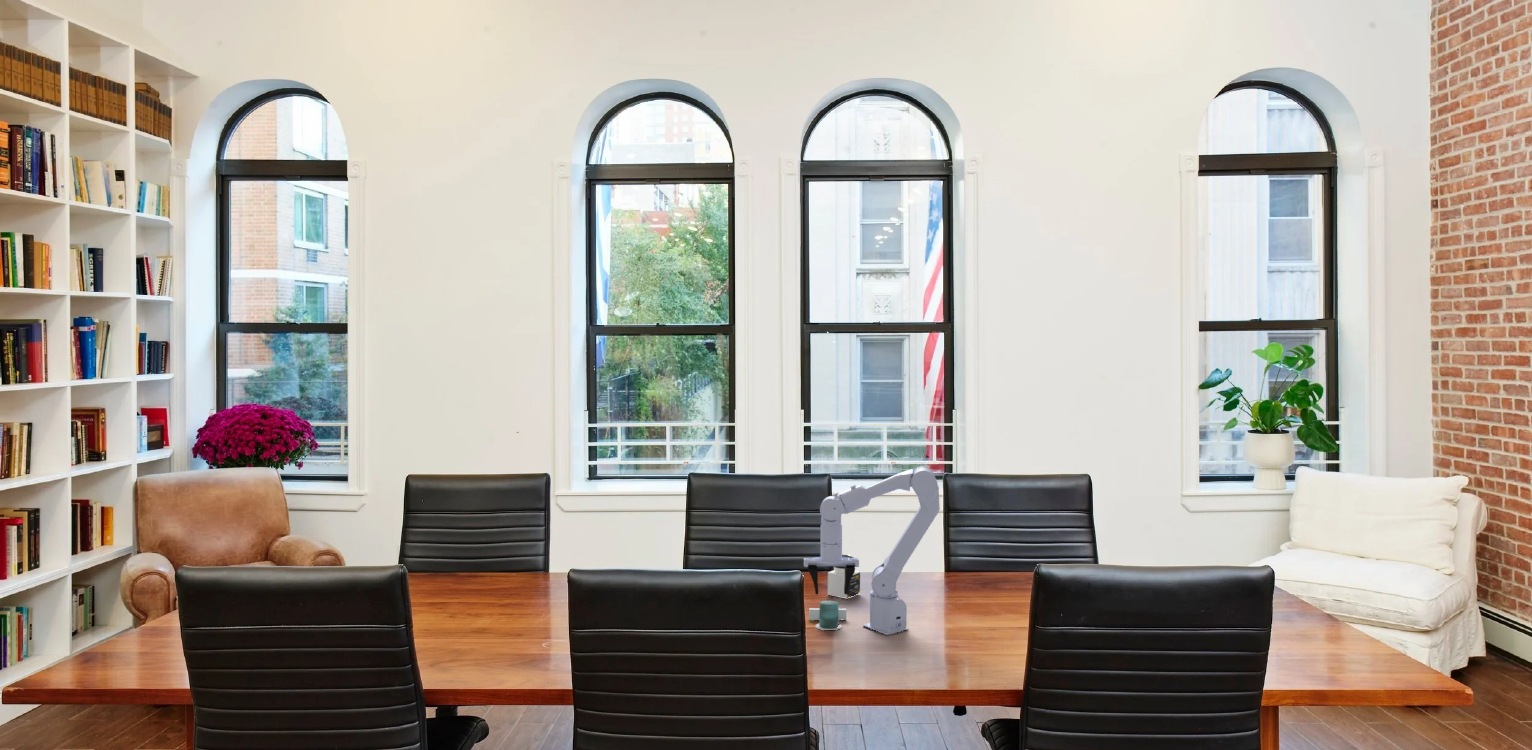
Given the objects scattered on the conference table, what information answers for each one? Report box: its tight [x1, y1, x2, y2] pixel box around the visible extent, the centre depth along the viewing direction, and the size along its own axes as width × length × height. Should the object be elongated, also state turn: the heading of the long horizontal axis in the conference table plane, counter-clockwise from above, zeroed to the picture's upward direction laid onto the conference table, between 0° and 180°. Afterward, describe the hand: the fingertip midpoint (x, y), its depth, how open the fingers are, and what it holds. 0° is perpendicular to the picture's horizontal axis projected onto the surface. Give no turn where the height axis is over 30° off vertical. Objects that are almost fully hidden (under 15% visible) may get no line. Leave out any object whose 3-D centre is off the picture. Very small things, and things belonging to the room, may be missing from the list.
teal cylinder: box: [819, 600, 840, 629], centre depth 240 cm, size 5×5×6 cm
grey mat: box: [815, 623, 843, 631], centre depth 240 cm, size 7×7×1 cm
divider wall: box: [808, 607, 847, 621], centre depth 246 cm, size 10×1×3 cm, turn 89°
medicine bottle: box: [827, 553, 861, 598], centre depth 270 cm, size 7×7×12 cm
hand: (831, 593), depth 241 cm, fingers open, 7 cm apart
